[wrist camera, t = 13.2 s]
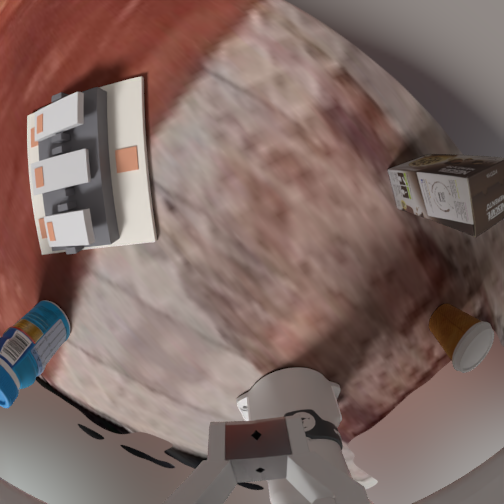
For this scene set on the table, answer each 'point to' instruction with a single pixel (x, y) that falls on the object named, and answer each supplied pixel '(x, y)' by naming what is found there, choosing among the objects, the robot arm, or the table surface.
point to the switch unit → (101, 168)
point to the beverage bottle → (30, 348)
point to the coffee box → (452, 190)
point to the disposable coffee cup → (461, 336)
